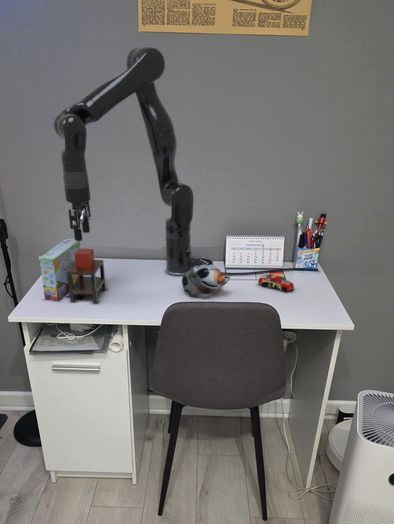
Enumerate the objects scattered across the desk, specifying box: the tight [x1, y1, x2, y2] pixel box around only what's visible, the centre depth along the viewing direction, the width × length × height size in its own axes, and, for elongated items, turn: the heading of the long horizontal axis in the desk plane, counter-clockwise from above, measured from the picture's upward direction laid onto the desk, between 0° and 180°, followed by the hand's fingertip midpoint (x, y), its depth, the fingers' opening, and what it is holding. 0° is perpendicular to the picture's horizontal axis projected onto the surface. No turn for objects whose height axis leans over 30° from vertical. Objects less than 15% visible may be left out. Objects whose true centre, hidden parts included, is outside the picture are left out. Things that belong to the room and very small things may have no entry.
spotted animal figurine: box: [181, 263, 231, 299], centre depth 169 cm, size 15×12×14 cm
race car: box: [257, 274, 295, 293], centre depth 177 cm, size 13×5×4 cm, turn 57°
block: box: [74, 247, 96, 269], centre depth 163 cm, size 5×5×5 cm
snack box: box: [39, 238, 81, 302], centre depth 171 cm, size 21×6×15 cm, turn 168°
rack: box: [67, 259, 107, 304], centre depth 167 cm, size 9×12×11 cm
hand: (82, 236), depth 159 cm, fingers open, 8 cm apart
